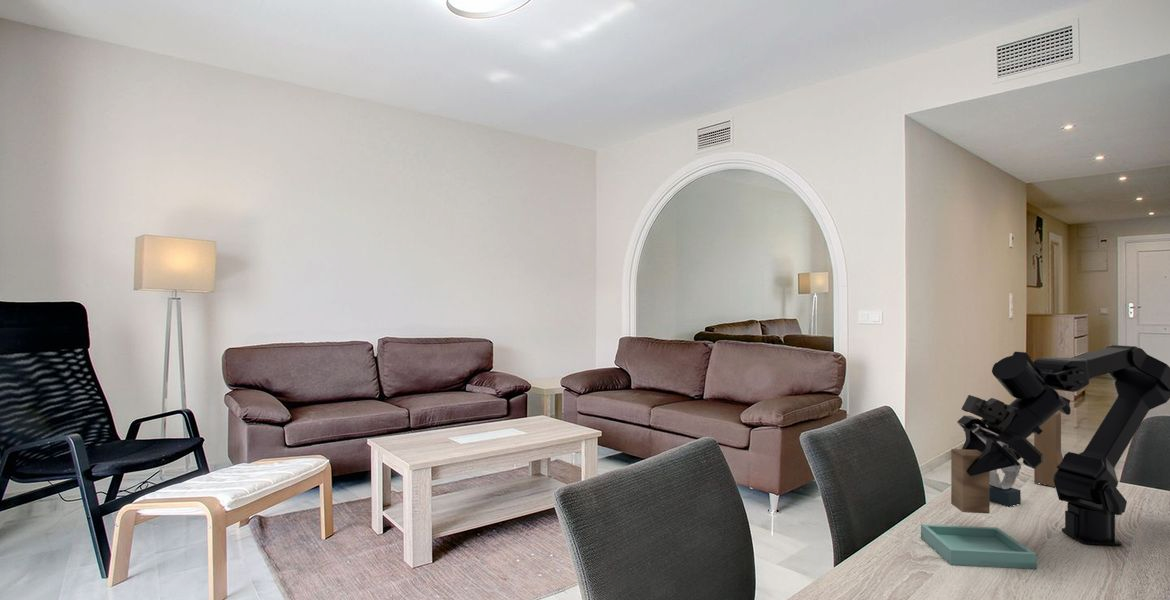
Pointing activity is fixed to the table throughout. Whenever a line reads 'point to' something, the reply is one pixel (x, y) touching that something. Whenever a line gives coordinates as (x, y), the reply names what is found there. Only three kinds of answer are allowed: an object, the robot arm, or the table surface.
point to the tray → (978, 546)
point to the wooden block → (1048, 450)
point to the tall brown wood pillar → (968, 483)
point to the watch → (1005, 487)
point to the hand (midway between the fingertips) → (961, 470)
